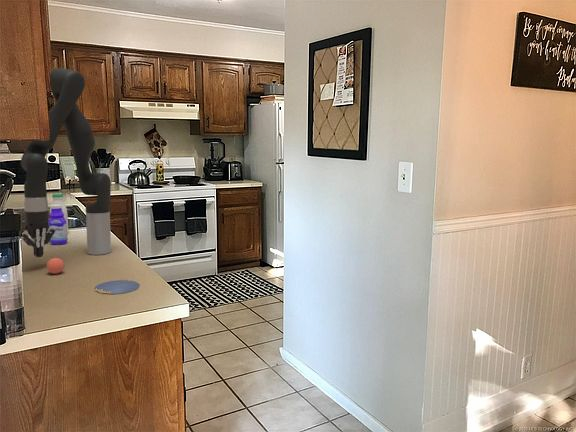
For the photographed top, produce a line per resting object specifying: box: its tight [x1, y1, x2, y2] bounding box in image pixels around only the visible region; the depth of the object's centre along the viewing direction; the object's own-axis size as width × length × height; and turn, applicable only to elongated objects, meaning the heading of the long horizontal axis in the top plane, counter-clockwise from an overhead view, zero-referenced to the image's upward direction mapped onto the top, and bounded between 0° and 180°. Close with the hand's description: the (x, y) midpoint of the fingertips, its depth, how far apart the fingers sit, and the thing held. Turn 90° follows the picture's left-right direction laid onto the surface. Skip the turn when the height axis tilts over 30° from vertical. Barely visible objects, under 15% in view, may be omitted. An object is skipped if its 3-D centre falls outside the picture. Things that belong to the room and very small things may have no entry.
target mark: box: [93, 279, 141, 295], centre depth 156 cm, size 14×14×1 cm
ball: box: [46, 257, 65, 275], centre depth 169 cm, size 6×6×6 cm
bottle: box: [48, 204, 68, 246], centre depth 211 cm, size 7×6×17 cm
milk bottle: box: [49, 193, 69, 235], centre depth 229 cm, size 8×8×20 cm
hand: (38, 256), depth 172 cm, fingers closed
